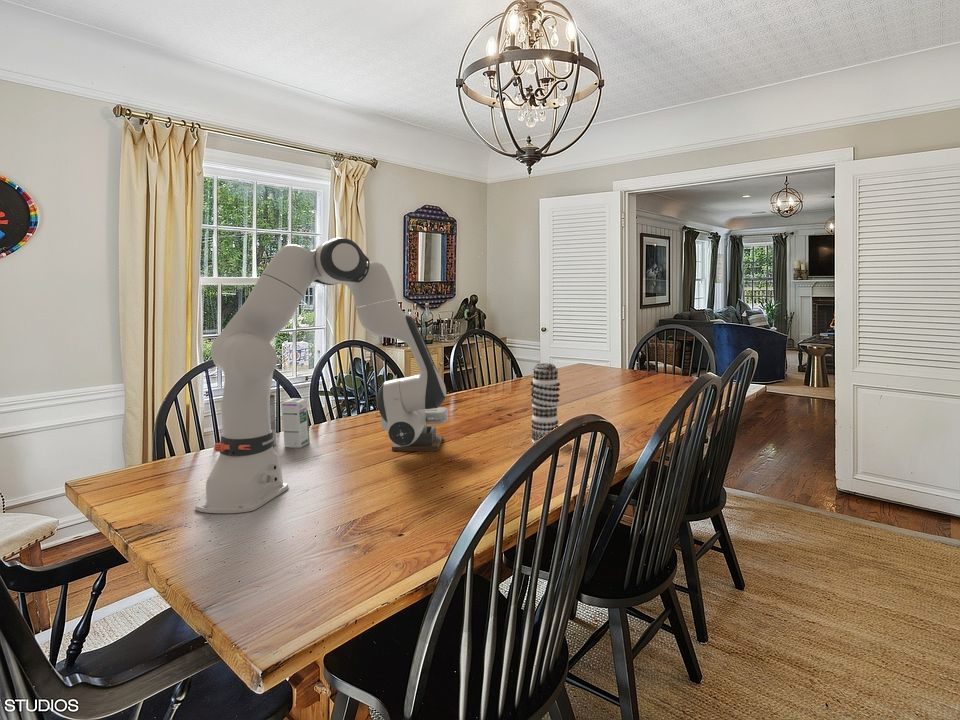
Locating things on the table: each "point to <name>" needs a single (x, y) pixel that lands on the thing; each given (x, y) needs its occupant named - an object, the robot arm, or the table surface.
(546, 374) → the decorative candle
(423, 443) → the dark grey square holder
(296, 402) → the syrup box
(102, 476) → the table surface
